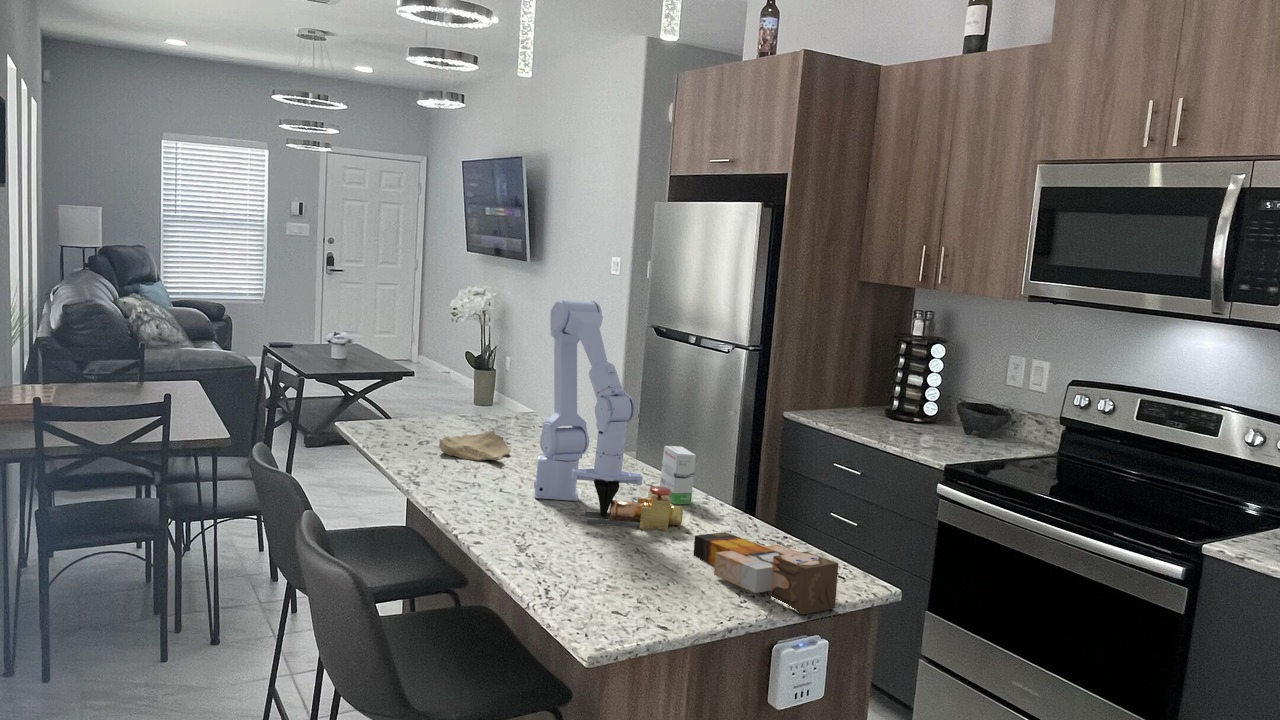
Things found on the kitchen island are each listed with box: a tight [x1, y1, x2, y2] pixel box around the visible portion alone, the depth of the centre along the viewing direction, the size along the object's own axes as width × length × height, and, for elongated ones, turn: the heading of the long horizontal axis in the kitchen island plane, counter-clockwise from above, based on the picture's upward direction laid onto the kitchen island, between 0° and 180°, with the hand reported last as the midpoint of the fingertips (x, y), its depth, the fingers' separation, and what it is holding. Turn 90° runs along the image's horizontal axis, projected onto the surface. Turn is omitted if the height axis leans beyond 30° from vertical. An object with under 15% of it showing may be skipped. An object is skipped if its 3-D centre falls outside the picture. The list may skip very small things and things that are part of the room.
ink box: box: [659, 445, 697, 505], centre depth 217 cm, size 9×5×12 cm, turn 22°
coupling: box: [608, 499, 649, 522], centre depth 196 cm, size 8×4×4 cm, turn 96°
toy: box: [693, 531, 839, 615], centre depth 170 cm, size 15×8×30 cm
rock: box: [438, 430, 512, 462], centre depth 239 cm, size 18×15×4 cm
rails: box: [584, 510, 640, 528], centre depth 196 cm, size 11×6×1 cm, turn 97°
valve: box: [636, 485, 684, 530], centre depth 196 cm, size 9×8×8 cm
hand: (603, 515), depth 195 cm, fingers closed
